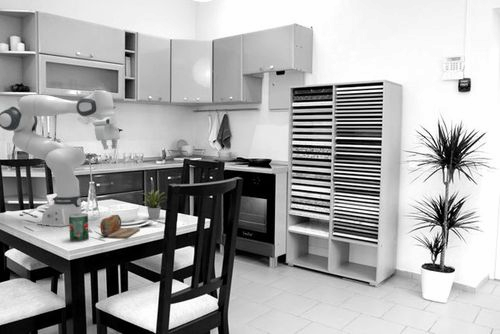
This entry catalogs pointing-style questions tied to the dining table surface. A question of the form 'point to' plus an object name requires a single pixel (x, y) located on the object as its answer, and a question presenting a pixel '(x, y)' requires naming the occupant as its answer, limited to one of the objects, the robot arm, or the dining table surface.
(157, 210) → the house plant
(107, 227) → the brown rounded block
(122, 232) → the walnut board
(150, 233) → the dining table surface
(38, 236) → the dining table surface
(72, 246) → the dining table surface
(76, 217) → the canned tomato
